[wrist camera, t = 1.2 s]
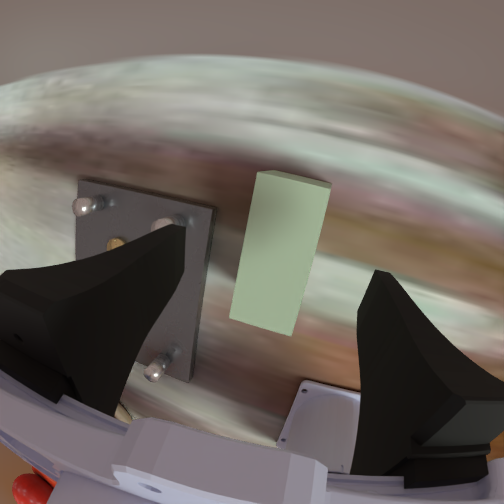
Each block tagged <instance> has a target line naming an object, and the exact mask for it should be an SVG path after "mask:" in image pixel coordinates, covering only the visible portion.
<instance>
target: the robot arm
mask: <svg viewBox="0 0 504 504" xmlns="http://www.w3.org/2000/svg"><path fill="white" fill-rule="evenodd" d="M185 241H186V227H185V226H180V225H175V224H169V225H166V226H164V227H161V228H159V229H157V230H155V231H152V232H150V233H148V234H146V235H144V236H142V237H139V238H137V239H135V240H133V241H131V242H128V243H126V244H123V245H121V246H119V247H116V248H114V249H111V250H109V251H106V252H103V253H100V254H97V255H94V256H91V257H88V258H84V259H80V260H76V261H72V262H68V263H64V264H59V265H53V266H47V267H40V268H32V269H16V270H6V271H5V272H4V273H3V274H2V275H0V442H1V443H3V444H4V445H5V446H6V447H8V448H9V449H10V450H11V451H13V452H14V453H15V454H17V455H18V456H19V457H21V458H22V459H23V460H25V461H26V462H28V463H29V464H30V465H32V466H33V467H35V468H36V469H38V470H39V471H41V472H42V473H44V474H45V475H47V476H48V477H50V478H51V479H53V480H54V481H56V482H57V484H56V485H55V487H54V489H53V491H52V493H51V495H50V497H49V499H48V501H47V503H46V504H504V458H498V459H494V460H491V461H489V462H487V460H486V455H487V454H489V453H490V451H491V448H490V442H491V441H492V440H493V439H494V438H496V437H497V436H498V435H499V434H500V433H501V432H503V431H504V382H503V381H501V380H499V379H498V378H496V377H494V376H493V375H491V374H490V373H488V372H487V371H485V370H484V369H482V368H481V367H480V366H478V365H477V364H476V363H474V362H473V361H472V360H470V359H469V358H468V357H467V356H466V355H464V354H463V353H462V352H461V351H460V350H458V349H457V348H456V347H455V346H454V345H453V344H452V343H451V342H450V341H449V340H448V339H447V338H446V337H445V336H444V335H443V334H442V333H441V332H440V331H439V330H438V329H437V328H436V327H435V326H434V325H433V324H432V323H431V322H430V320H429V319H428V318H427V317H426V316H425V315H424V314H423V312H422V311H421V310H420V309H419V307H418V306H417V305H416V304H415V303H414V301H413V300H412V299H411V298H410V296H409V295H408V294H407V292H406V291H405V290H404V289H403V287H402V286H401V285H400V284H399V282H398V281H397V280H396V279H395V278H394V277H393V276H392V275H391V274H390V273H388V272H384V271H380V270H375V271H374V274H373V276H372V278H371V281H370V283H369V286H368V288H367V290H366V293H365V295H364V297H363V300H362V302H361V304H360V306H359V309H358V311H357V344H358V355H359V367H360V381H361V393H359V392H355V391H350V390H346V389H341V388H337V387H333V386H329V385H325V384H321V383H317V382H313V381H309V380H304V381H302V382H301V384H300V387H299V390H298V392H297V395H296V397H295V400H294V402H293V405H292V407H291V410H290V412H289V415H288V417H287V419H286V422H285V424H284V427H283V429H282V431H281V434H280V436H279V438H278V441H277V443H276V446H277V447H278V448H274V447H268V446H263V445H258V444H254V443H249V442H245V441H240V440H236V439H232V438H228V437H224V436H220V435H216V434H212V433H209V432H205V431H202V430H198V429H195V428H191V427H188V426H185V425H182V424H179V423H175V422H171V421H167V420H162V419H158V418H154V417H149V418H141V419H135V420H132V422H131V424H128V423H125V422H123V421H120V420H118V419H116V418H114V415H115V412H116V409H117V406H118V403H119V400H120V397H121V395H122V392H123V389H124V387H125V384H126V381H127V379H128V376H129V374H130V372H131V369H132V367H133V364H134V362H135V360H136V358H137V355H138V353H139V351H140V349H141V347H142V345H143V342H144V340H145V339H146V337H147V335H148V333H149V332H150V330H151V328H152V327H153V325H154V324H155V322H156V321H157V319H158V318H159V316H160V314H161V313H162V311H163V310H164V308H165V307H166V305H167V304H168V302H169V300H170V299H171V297H172V296H173V294H174V292H175V291H176V289H177V286H178V284H179V282H180V280H181V278H182V276H183V273H184V270H185ZM302 389H306V390H307V391H304V390H302ZM283 438H284V439H283ZM279 448H281V449H279Z"/></svg>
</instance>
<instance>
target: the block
mask: <svg viewBox="0 0 504 504" xmlns="http://www.w3.org/2000/svg"><path fill="white" fill-rule="evenodd" d="M331 185H332V184H331V183H327V182H323V181H319V180H315V179H311V178H307V177H303V176H298V175H294V174H290V173H285V172H281V171H277V170H270V171H261V172H257V177H256V182H255V187H254V192H253V197H252V202H251V207H250V212H249V217H248V222H247V227H246V232H245V237H244V243H243V248H242V253H241V258H240V263H239V268H238V274H237V279H236V284H235V289H234V294H233V300H232V305H231V310H230V316H229V318H231V319H234V320H237V321H241V322H244V323H247V324H250V325H254V326H257V327H260V328H264V329H267V330H271V331H274V332H278V333H281V334H284V335H288V336H291V335H292V332H293V329H294V325H295V322H296V319H297V315H298V312H299V308H300V305H301V302H302V298H303V295H304V291H305V287H306V284H307V280H308V277H309V273H310V269H311V266H312V262H313V258H314V255H315V251H316V247H317V243H318V239H319V235H320V231H321V227H322V224H323V220H324V215H325V211H326V207H327V203H328V199H329V195H330V191H331Z"/></svg>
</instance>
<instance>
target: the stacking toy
mask: <svg viewBox="0 0 504 504" xmlns="http://www.w3.org/2000/svg"><path fill="white" fill-rule="evenodd" d="M114 418H116V419H118V420H120V421H123V422H125V423H128V424H131V422H132V419H131V417H130V415H129V414H128V412H127V411H126V410H125V409H124V408H123V407H122V406H121V405H120V404H119V403H118V406H117V409H116V412H115V415H114ZM32 470H33V472H34V473H35V474H23V475H20V476H18V477H17V478H16V479H15V481H14V483H13V487H12V492H13V496H14V498H15V500H16V502H17V503H18V504H46V503H47V501H48V499H49V497H50V495H51V493H52V491H53V489H54V487H55V485H56V484H57V482H56V481H54V480H53V479H51V478H50V477H48V476H47V475H45V474H44V473H42V472H41V471H39V470H38V469H36V468H35V467H33V466H32Z"/></svg>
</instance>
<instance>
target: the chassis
mask: <svg viewBox="0 0 504 504" xmlns="http://www.w3.org/2000/svg"><path fill="white" fill-rule="evenodd" d="M72 209H73V212H74V214H75V215H76V260H80V259H84V258H88V257H91V256H94V255H97V254H100V253H103V252H106V251H109V250H111V249H114V248H116V247H119V246H121V245H123V244H126V243H128V242H131V241H133V240H135V239H137V238H139V237H142V236H144V235H146V234H148V233H150V232H152V231H155V230H157V229H159V228H161V227H164V226H166V225H169V224H175V225H180V226H185V227H186V241H185V270H184V273H183V276H182V278H181V280H180V282H179V284H178V286H177V289H176V291H175V292H174V294H173V296H172V297H171V299H170V300H169V302H168V304H167V305H166V307H165V308H164V310H163V311H162V313H161V314H160V316H159V318H158V319H157V321H156V322H155V324H154V325H153V327H152V328H151V330H150V332H149V333H148V335H147V337H146V339H145V340H144V342H143V345H142V347H141V349H140V351H139V353H138V355H137V358H136V360H135V361H136V362H139V363H141V364H143V365H145V366H148V367H147V368H146V369H145V370H144V376H145V377H146V378H147V379H148V380H149V381H151V382H156V381H157V380H158V379H159V378H160V377H161V375H162V374H163V373H164V374H166V375H169V376H171V377H174V378H176V379H179V380H181V381H184V382H186V383H189V382H190V380H191V379H192V377H193V370H194V362H195V354H196V346H197V339H198V331H199V324H200V317H201V309H202V302H203V296H204V289H205V282H206V275H207V269H208V262H209V256H210V250H211V243H212V237H213V231H214V225H215V219H216V213H217V207H212V206H208V205H204V204H200V203H195V202H191V201H187V200H182V199H178V198H173V197H169V196H164V195H160V194H155V193H151V192H146V191H142V190H137V189H132V188H127V187H123V186H118V185H113V184H108V183H103V182H99V181H94V180H89V179H83V180H79V182H78V196H77V199H76V200H74V202H73V205H72Z"/></svg>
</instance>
